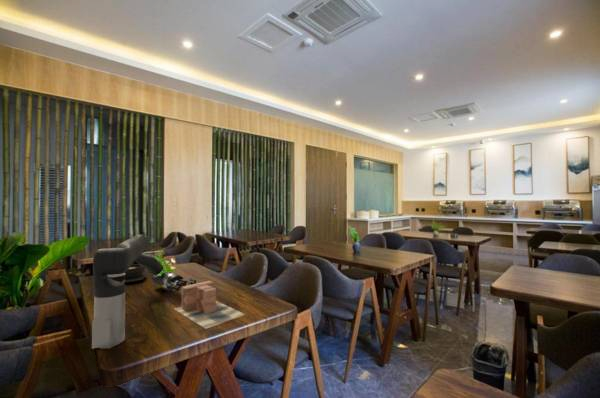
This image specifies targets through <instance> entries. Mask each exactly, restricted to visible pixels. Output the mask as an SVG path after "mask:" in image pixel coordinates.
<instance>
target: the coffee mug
mask: <svg viewBox="0 0 600 398" xmlns="http://www.w3.org/2000/svg"><path fill="white" fill-rule="evenodd" d="M108 277H109V278H111V279H112V280H115V281H119V282H122V283H124V284H125V282H124V280H125V273H122V274H112V275H108Z"/></svg>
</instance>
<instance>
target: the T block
mask: <svg viewBox="0 0 600 398" xmlns="http://www.w3.org/2000/svg"><path fill="white" fill-rule="evenodd" d="M215 283H216V282H213V281H211V280H207V281H206V280H205V281H201V282H196V284H192V285H191V284H190V285H187V284H186V285H187V286H183V287H181V288H180V290H181V291H180V292H181V293H180V294H181V298H180V301H181V302H180V307H181V309H183V310H185V311H190V310H193V309H197V310H199V311H201V312H203V313H204V314H208V313H211V312H214V311H216V301H217V288H215V286H216V285H215Z"/></svg>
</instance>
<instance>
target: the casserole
mask: <svg viewBox="0 0 600 398" xmlns="http://www.w3.org/2000/svg"><path fill="white" fill-rule="evenodd" d="M145 269H146V268H144V267H143V266H142V265H140V264H139V263H137V264H135V263H132V264H131V266H130V268H129V269H128V270H127V271H126V272H125V280H124V283H130V282H131V283H132V282H137V281H142V280H144V278H145V277H146V276H147V274H146V273H144V270H145Z"/></svg>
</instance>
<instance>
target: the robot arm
mask: <svg viewBox="0 0 600 398" xmlns="http://www.w3.org/2000/svg"><path fill="white" fill-rule="evenodd" d="M150 247H151V243H150V240H149V238H148V237H147V236H146V235H144V234H136V235H135V236H133V237H130V238H128V239H126V240H124V241H123V242H121V243H119V244H118V245H117V246H116V247H112V248H110V247H108V248H100V249H96V250H95V252H94V255H93V259H92V272H93V299H94V301H93V320H92V322H91V349H94V350H96V349H95V348H100V349H111V348H113V347H115V346H118V345H120V344H122V343H123V342H124V341H125V338H126V283H125V282H124V283H122V282H119V281H115V280H112V279H111V278H109V277H108V275H112V274H122V273H125V272H126V271H127V270H128V269H129V268H130V266H131V264H134V262H136V263H137V264H139V265H142V266H143V267H144V268H145V269H146V271H147V272H148V273H149V274H150V275H152V276H151V281H152V282H153V283H154V284H155V285H157V286H158V285H159V286H162V285H163V286H164V290H166V291H168V292H171V291H176V292H180V290H181V288H182V287H183V286H187V285H192V284H197V279H194V278H191V277H190V278H188V279H185V278H184V277H183V276H182V275H181V274H177V273H174V272H173V271H171V272H165V273H163V274H162V275H161V276H157V274H159V273H160V272H161V271H162V270H163V266H164V265H163V264H162V263H161V262H160V261H159V260H158V259H157V258H156V257H154V256H152V255H151V256H150V255H147V254H146V255H145V254H144V253H146V252H148V251H149V250H150ZM161 264H162V265H163V266H162V265H161ZM100 349H99V350H100Z"/></svg>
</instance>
